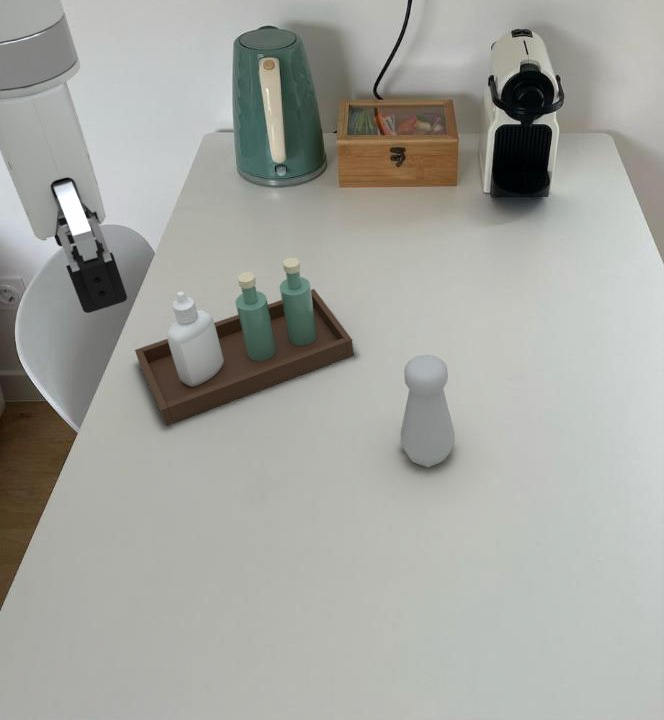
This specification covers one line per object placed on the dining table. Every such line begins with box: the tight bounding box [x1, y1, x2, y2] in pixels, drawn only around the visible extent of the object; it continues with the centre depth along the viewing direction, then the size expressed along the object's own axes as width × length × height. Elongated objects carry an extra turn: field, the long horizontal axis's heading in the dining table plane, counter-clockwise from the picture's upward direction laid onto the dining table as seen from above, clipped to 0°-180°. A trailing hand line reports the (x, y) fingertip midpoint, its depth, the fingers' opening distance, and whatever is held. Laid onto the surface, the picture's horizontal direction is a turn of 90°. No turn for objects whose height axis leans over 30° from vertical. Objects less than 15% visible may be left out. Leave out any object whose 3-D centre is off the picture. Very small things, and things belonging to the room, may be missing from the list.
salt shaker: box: [400, 354, 456, 468], centre depth 83 cm, size 6×6×13 cm
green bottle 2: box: [279, 257, 317, 346], centre depth 98 cm, size 4×4×11 cm
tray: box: [134, 288, 355, 426], centre depth 99 cm, size 24×12×3 cm, turn 118°
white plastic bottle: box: [166, 291, 224, 387], centre depth 93 cm, size 4×6×12 cm
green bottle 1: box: [235, 271, 276, 361], centre depth 96 cm, size 4×4×11 cm
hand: (91, 271), depth 63 cm, fingers open, 9 cm apart
